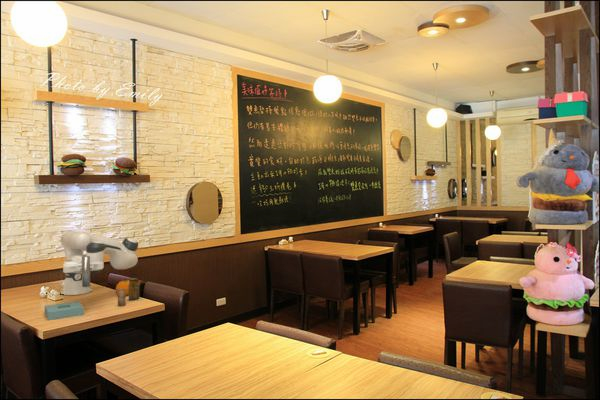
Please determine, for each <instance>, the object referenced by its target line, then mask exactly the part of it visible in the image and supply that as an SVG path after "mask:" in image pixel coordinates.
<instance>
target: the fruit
mask: <svg viewBox="0 0 600 400" xmlns="http://www.w3.org/2000/svg"><path fill="white" fill-rule="evenodd" d="M118 289H125V297H127V296H129V279H128V280H127V278H125V280H122V281H119V282H118V283H117V284H116V286H115V292H116V294H117V295H118Z"/></svg>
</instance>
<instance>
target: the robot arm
mask: <svg viewBox="0 0 600 400" xmlns="http://www.w3.org/2000/svg"><path fill="white" fill-rule="evenodd" d="M138 242H139V241H137V240H136V239H134V238H132V237H125V238H124V239H123V240H122V242H120V241H119V240H117V239H113V238H112V237H106V236H102V235H98V234H96V235H95V234H91V233H87V232H81V231H73V230H69V231H66V232H64V233H62V235H61V237H60V243H61V245H62V248H63V252H64V256H65V261H63V264H62V273H63V274H65V279H64V280H63V281H62V282H61V283H60V284H61V287H62V288H61V289H60V292H62V293H63V294H64V295H63V296H78V295H84V294H87V293H90V292H93V288H90V287H91V285H90V286H89V287H82V257H83V256H90V275H96V274H98V273H100V272H102V271H103V269H104V267H105V266H104V265H105V263H104V260H105V255H108V257H109V263H110V265H111V266H112V268H114V270H127V269H131V268H133V267H135V266H137V264H138V261H139V260H138V259H139V258H138V256H137V254H136V252H137V250H138V249H139V243H138ZM83 251H85V252H86V254H84V252H83ZM60 292H59V293H60Z"/></svg>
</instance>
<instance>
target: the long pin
mask: <svg viewBox="0 0 600 400" xmlns="http://www.w3.org/2000/svg"><path fill="white" fill-rule="evenodd" d="M89 286H90V287H91V274H90V256H86V255H84V256H83V257H82V287H89Z"/></svg>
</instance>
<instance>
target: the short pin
mask: <svg viewBox="0 0 600 400" xmlns="http://www.w3.org/2000/svg"><path fill="white" fill-rule="evenodd" d="M125 306H126V296H125V289H118V294H117V307H125Z"/></svg>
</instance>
